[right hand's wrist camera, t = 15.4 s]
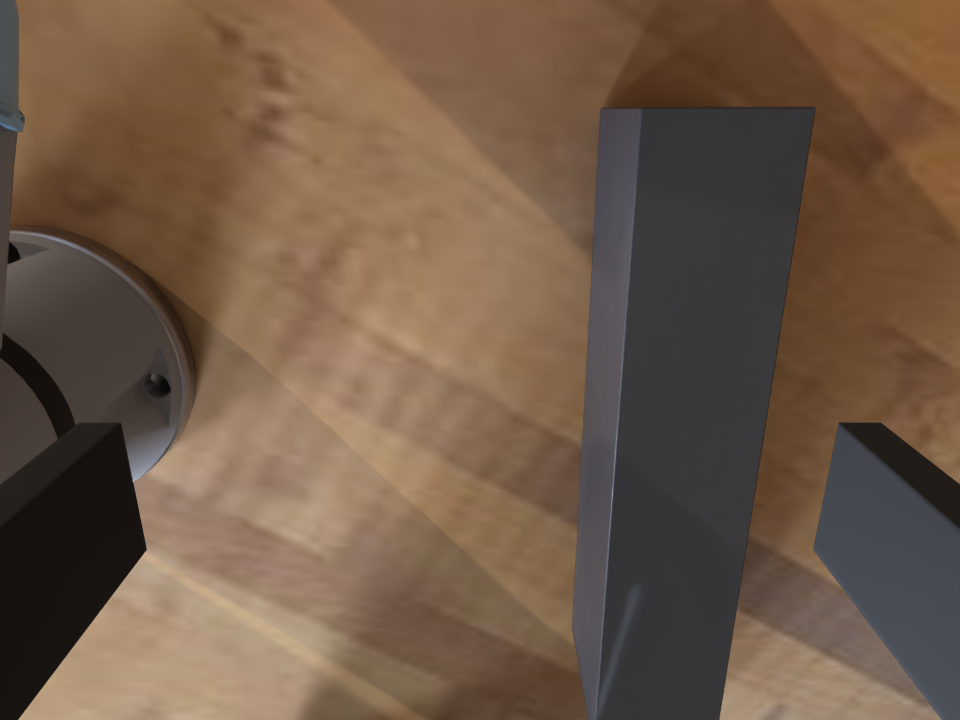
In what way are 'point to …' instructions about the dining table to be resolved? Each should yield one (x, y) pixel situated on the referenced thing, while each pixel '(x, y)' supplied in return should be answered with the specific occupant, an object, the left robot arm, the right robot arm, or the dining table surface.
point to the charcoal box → (678, 393)
